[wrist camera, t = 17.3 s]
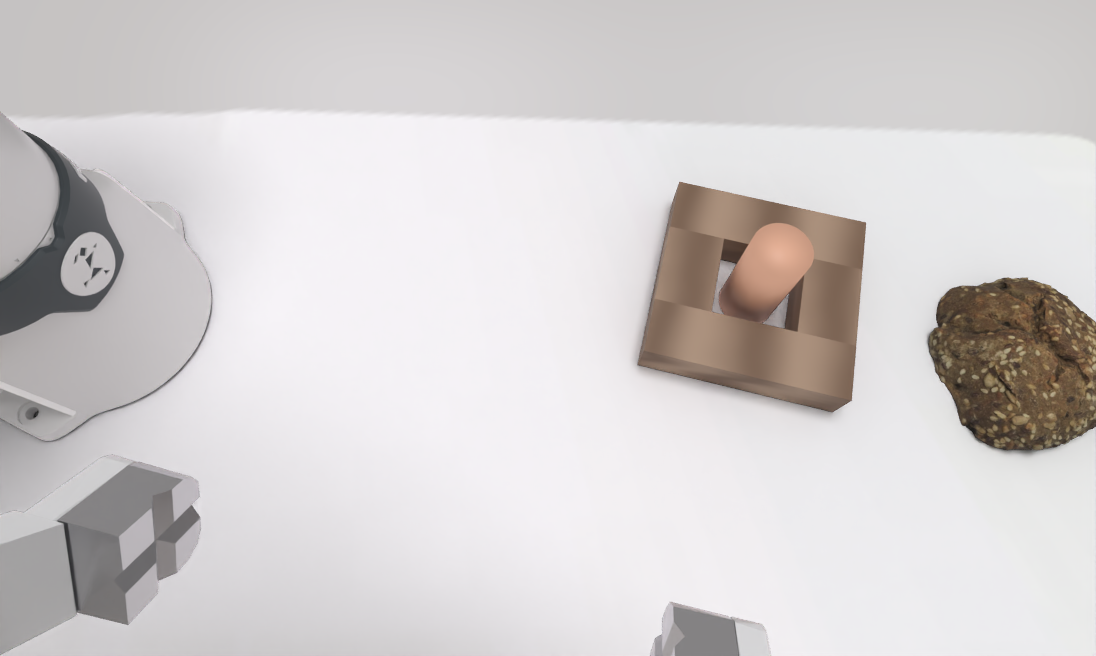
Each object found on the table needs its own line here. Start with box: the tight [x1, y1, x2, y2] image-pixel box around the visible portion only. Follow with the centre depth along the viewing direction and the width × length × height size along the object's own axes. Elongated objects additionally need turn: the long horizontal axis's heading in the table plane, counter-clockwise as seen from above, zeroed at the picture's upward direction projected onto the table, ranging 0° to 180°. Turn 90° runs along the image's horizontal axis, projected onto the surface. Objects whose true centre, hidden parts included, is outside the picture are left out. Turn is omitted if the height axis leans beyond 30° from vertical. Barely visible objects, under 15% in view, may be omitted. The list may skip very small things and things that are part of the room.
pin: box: [719, 223, 814, 323], centre depth 45 cm, size 4×4×8 cm
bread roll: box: [929, 278, 1096, 450], centre depth 46 cm, size 13×12×5 cm
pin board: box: [638, 182, 866, 412], centre depth 48 cm, size 14×14×3 cm
